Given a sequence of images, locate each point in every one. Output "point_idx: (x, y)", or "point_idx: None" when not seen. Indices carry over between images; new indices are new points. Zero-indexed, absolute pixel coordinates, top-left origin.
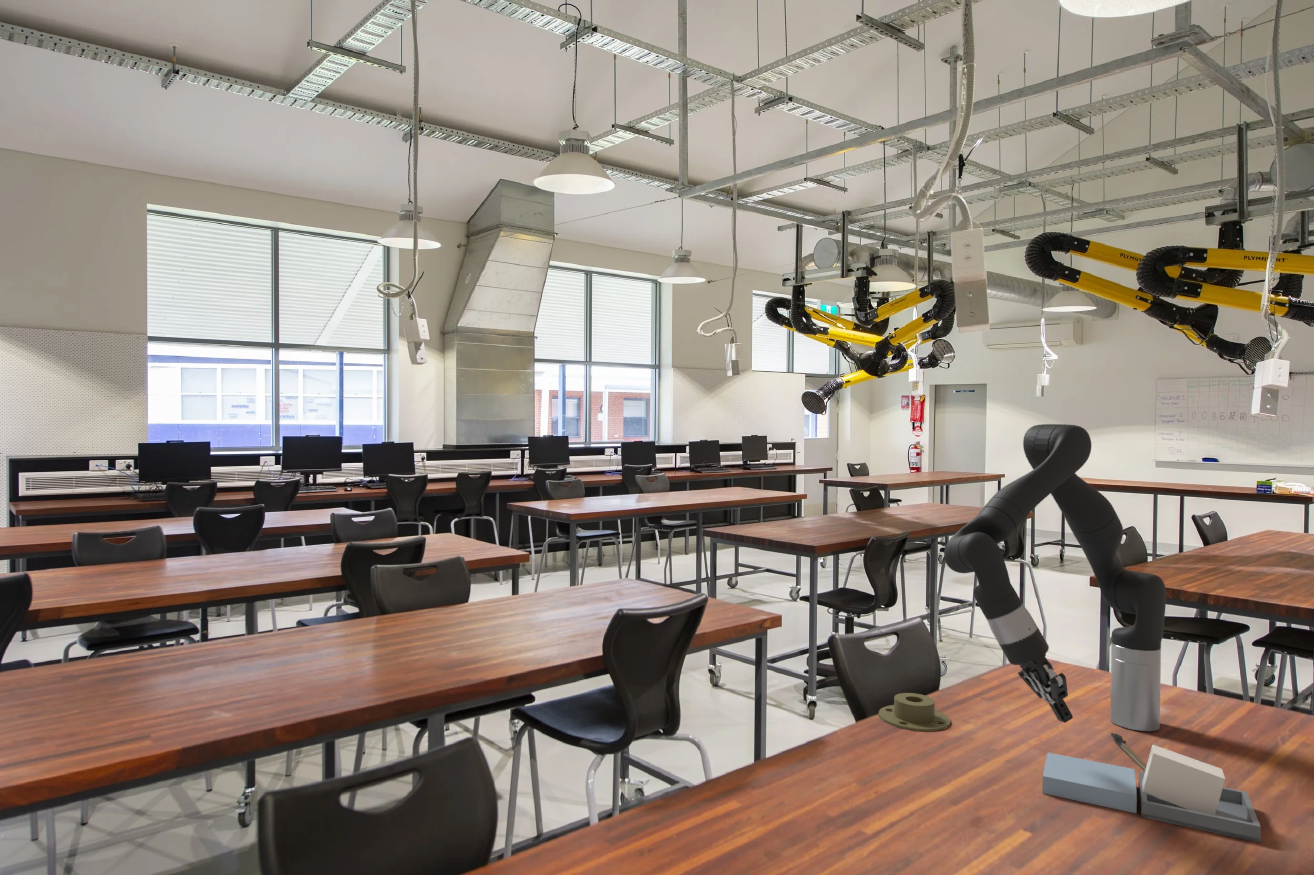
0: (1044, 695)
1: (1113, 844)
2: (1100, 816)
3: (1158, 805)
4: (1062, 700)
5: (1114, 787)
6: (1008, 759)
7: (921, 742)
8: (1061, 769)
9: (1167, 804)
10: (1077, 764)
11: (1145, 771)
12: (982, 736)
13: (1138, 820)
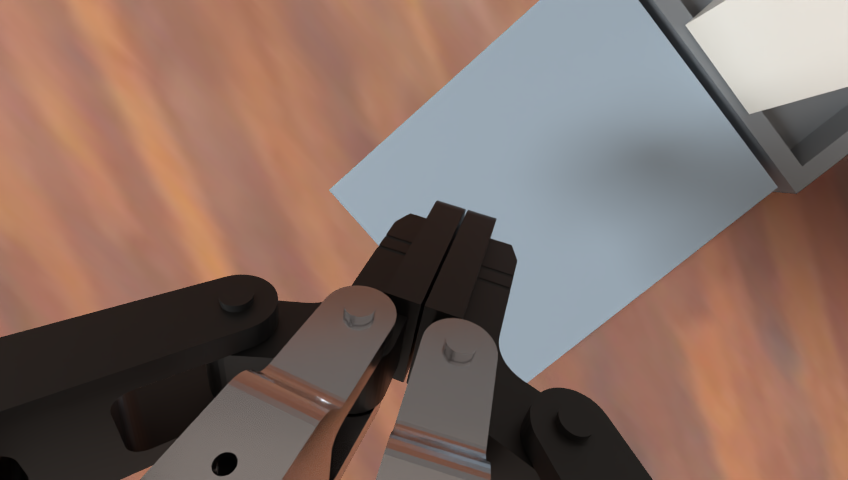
0: (351, 453)
1: (826, 424)
2: (693, 316)
3: (843, 157)
4: (500, 362)
5: (693, 211)
6: (234, 264)
7: None
8: None
9: None
10: (473, 168)
11: (737, 10)
12: (4, 192)
13: (764, 220)
